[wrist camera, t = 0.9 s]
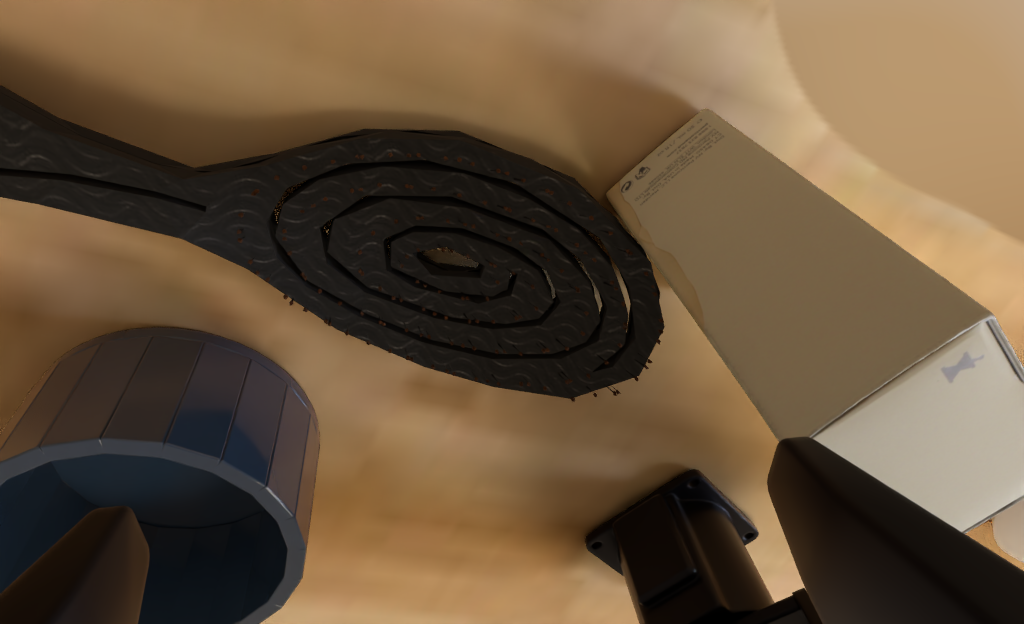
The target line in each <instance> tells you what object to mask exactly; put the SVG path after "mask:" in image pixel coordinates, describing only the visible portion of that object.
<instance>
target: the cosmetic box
mask: <svg viewBox="0 0 1024 624" xmlns="http://www.w3.org/2000/svg"><path fill="white" fill-rule="evenodd" d="M606 196H607V199H608V200H609V202H610V203H611V205H612V206H613V208H614V209H615V211H616V212H617V213H618V214H619V216H620V217H621V218H622V220H623V221H624V223H625V224H626V225H627V227H628V228H629V230H630V231H631V233H632V234H633V235H634V237H635V238H636V240H637V241H638V242H639V244H640V245H641V246H642V248H643V249H644V250H645V252H646V253H647V255H648V256H649V257H650V259H651V260H652V261H653V263H654V264H655V265H656V267H657V268H658V269H659V271H660V272H661V274H662V275H663V276H664V278H665V279H666V281H667V282H668V283H669V285H670V286H671V288H672V289H673V290H674V292H675V293H676V295H677V296H678V298H679V299H680V300H681V302H682V303H683V305H684V306H685V307H686V309H687V310H688V312H689V313H690V314H691V316H692V317H693V319H694V320H695V322H696V323H697V324H698V326H699V327H700V329H701V330H702V332H703V333H704V334H705V336H706V337H707V339H708V340H709V341H710V343H711V344H712V346H713V347H714V348H715V350H716V351H717V353H718V354H719V356H720V357H721V358H722V360H723V361H724V363H725V364H726V365H727V367H728V368H729V370H730V371H731V373H732V374H733V375H734V377H735V378H736V380H737V381H738V383H739V384H740V385H741V387H742V388H743V390H744V391H745V393H746V394H747V396H748V397H749V398H750V400H751V401H752V403H753V404H754V406H755V407H756V408H757V410H758V411H759V413H760V414H761V416H762V417H763V419H764V420H765V422H766V423H767V425H768V426H769V428H770V429H771V431H772V432H773V434H774V435H775V437H776V438H777V440H778V441H779V442H780V441H781V440H782V439H785V438H794V437H804V436H805V437H810V438H812V439H814V440H816V441H818V442H819V443H821V444H822V445H824V446H825V447H827V448H829V449H830V450H832V451H833V452H835V453H837V454H838V455H840V456H841V457H843V458H845V459H846V460H848V461H849V462H851V463H852V464H854V465H856V466H857V467H859V468H860V469H862V470H864V471H865V472H867V473H868V474H870V475H872V476H873V477H875V478H876V479H878V480H880V481H881V482H883V483H884V484H886V485H887V486H889V487H891V488H892V489H894V490H895V491H897V492H899V493H900V494H902V495H903V496H905V497H907V498H908V499H910V500H911V501H913V502H915V503H916V504H918V505H919V506H921V507H922V508H924V509H926V510H927V511H929V512H930V513H932V514H934V515H935V516H937V517H938V518H940V519H942V520H943V521H945V522H946V523H948V524H949V525H951V526H953V527H954V528H956V529H957V530H959V531H961V532H962V533H964V534H965V533H967V532H969V531H970V530H972V529H974V528H976V527H978V526H980V525H981V524H983V523H984V522H986V521H988V520H989V519H991V518H993V517H995V516H997V515H998V514H1000V513H1002V512H1004V511H1006V510H1007V509H1009V508H1011V507H1012V506H1014V505H1016V504H1017V503H1019V502H1021V501H1022V500H1024V367H1023V366H1022V364H1021V362H1020V360H1019V359H1018V357H1017V355H1016V353H1015V351H1014V349H1013V348H1012V346H1011V344H1010V343H1009V341H1008V339H1007V337H1006V335H1005V334H1004V332H1003V331H1002V329H1001V327H1000V325H999V323H998V321H997V319H996V317H995V316H994V315H993V314H992V313H991V312H990V311H989V310H988V309H986V308H985V307H983V306H982V305H981V304H979V303H978V302H976V301H975V300H974V299H972V298H971V297H969V296H968V295H967V294H965V293H964V292H963V291H961V290H960V289H958V288H957V287H956V286H954V285H953V284H952V283H950V282H949V281H948V280H946V279H945V278H944V277H942V276H941V275H939V274H938V273H936V272H935V271H934V270H932V269H931V268H929V267H928V266H927V265H925V264H924V263H922V262H921V261H919V260H918V259H917V258H915V257H914V256H912V255H911V254H909V253H908V252H907V251H905V250H904V249H903V248H901V247H900V246H899V245H897V244H896V243H895V242H893V241H892V240H891V239H889V238H888V237H886V236H885V235H884V234H882V233H881V232H879V231H878V230H876V229H875V228H874V227H872V226H871V225H870V224H868V223H867V222H866V221H864V220H863V219H861V218H860V217H859V216H857V215H856V214H854V213H853V212H851V211H850V210H849V209H847V208H846V207H845V206H843V205H842V204H840V203H839V202H838V201H836V200H835V199H834V198H832V197H831V196H829V195H828V194H827V193H825V192H824V191H822V190H821V189H819V188H818V187H817V186H815V185H814V184H813V183H811V182H810V181H808V180H807V179H806V178H804V177H803V176H801V175H800V174H799V173H797V172H796V171H795V170H793V169H792V168H791V167H789V166H788V165H786V164H785V163H784V162H782V161H781V160H779V159H778V158H777V157H775V156H774V155H773V154H771V153H770V152H768V151H767V150H765V149H764V148H763V147H761V146H760V145H759V144H757V143H756V142H754V141H753V140H751V139H750V138H749V137H747V136H746V135H745V134H743V133H742V132H740V131H739V130H738V129H736V128H735V127H733V126H732V125H731V124H729V123H728V122H727V121H725V120H724V119H722V118H721V117H720V116H718V115H717V114H716V113H714V112H713V111H711V110H710V109H706V108H705V109H703V110H701V111H700V112H699V113H698V114H697V115H696V116H694V117H693V118H692V119H691V120H690V121H688V122H687V123H686V124H685V125H684V126H682V127H681V128H680V129H679V130H677V131H676V132H675V133H674V134H673V135H671V136H670V137H669V138H668V139H667V140H666V141H664V142H663V143H662V144H661V145H660V146H659V147H657V148H656V149H655V150H654V151H653V152H652V153H650V154H649V155H648V156H647V157H646V158H645V159H643V160H642V161H641V162H640V163H639V164H638V165H637V166H635V167H634V168H633V169H632V170H631V171H630V172H629V173H627V174H626V175H625V176H624V177H623V178H622V179H621V180H620V181H619V182H618V183H616V184H615V185H614V186H613V187H612V188H611V189H610V190H609V191H608V192H607V195H606Z"/></svg>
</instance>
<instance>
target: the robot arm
mask: <svg viewBox="0 0 1024 624" xmlns="http://www.w3.org/2000/svg"><path fill="white" fill-rule="evenodd" d="M767 485H768V491H769V495H770V497H771V500H772V503H773V505H774V508H775V511H776V513H777V516H778V519H779V521H780V524H781V526H782V529H783V532H784V534H785V537H786V540H787V542H788V545H789V547H790V550H791V553H792V555H793V558H794V561H795V563H796V566H797V569H798V571H799V574H800V576H801V579H802V581H803V583H804V586H805V588H806V590H805V588H802V589H800V590H798V591H795V592H793V593H792V594H793V595H792V596H790V597H788V598H785V599H783V600H781V601H778V602H776V603H774V601H773V599H772V597H771V595H770V593H769V591H768V590H767V588H766V586H765V584H764V582H763V580H762V578H761V576H760V574H759V572H758V570H757V569H756V567H755V565H754V563H753V561H752V559H751V557H750V555H749V553H748V551H747V549H746V547H745V545H746V544H748V543H750V542H751V541H753V540H754V539H756V538H757V536H758V531H757V529H756V527H755V525H754V524H753V523H752V522H751V521H750V520H749V519H748V518H747V517H746V516H745V515H744V514H743V513H742V512H741V511H740V510H739V509H738V508H737V507H736V506H735V505H734V504H733V503H732V502H731V501H730V500H729V499H728V498H727V497H726V496H725V495H724V494H723V493H722V492H721V491H719V490H718V489H717V488H716V487H715V486H714V485H713V484H712V483H711V482H710V481H709V480H708V479H707V478H706V477H705V476H704V475H703V474H702V473H701V472H700V471H699V470H695V469H693V470H689V471H686V472H685V473H683V474H682V475H680V476H678V477H677V478H675V479H674V480H672V481H671V482H669V483H667V484H666V485H664V486H663V487H661V488H660V489H658V490H657V491H655V492H653V493H652V494H650V495H649V496H647V497H646V498H644V499H642V500H641V501H639V502H638V503H636V504H635V505H633V506H632V507H630V508H628V509H627V510H625V511H624V512H622V513H621V514H619V515H618V516H616V517H614V518H613V519H611V520H610V521H608V522H607V523H605V524H603V525H602V526H600V527H599V528H597V529H596V530H594V531H593V532H591V533H589V534H588V535H587V536H586V538H585V544H586V547H587V549H588V551H590V552H591V553H592V554H594V555H595V556H597V557H598V558H599V559H601V560H602V561H603V562H605V563H606V564H607V565H609V566H610V567H612V568H613V569H614V570H616V571H617V572H618V573H620V574H621V575H622V576H624V578H625V581H626V584H627V587H628V590H629V593H630V596H631V599H632V602H633V605H634V608H635V611H636V614H637V617H638V620H639V623H640V624H1024V571H1023V570H1021V569H1019V568H1018V567H1016V566H1015V565H1013V564H1012V563H1010V562H1008V561H1007V560H1005V559H1004V558H1002V557H1000V556H999V555H997V554H996V553H994V552H992V551H991V550H989V549H988V548H986V547H984V546H983V545H981V544H980V543H978V542H977V541H975V540H973V539H972V538H970V537H969V536H967V535H965V534H964V533H962V532H961V531H959V530H957V529H956V528H954V527H953V526H951V525H949V524H948V523H946V522H945V521H943V520H942V519H940V518H938V517H937V516H935V515H934V514H932V513H930V512H929V511H927V510H926V509H924V508H922V507H921V506H919V505H918V504H916V503H915V502H913V501H911V500H910V499H908V498H907V497H905V496H903V495H902V494H900V493H899V492H897V491H895V490H894V489H892V488H891V487H889V486H887V485H886V484H884V483H883V482H881V481H880V480H878V479H876V478H875V477H873V476H872V475H870V474H868V473H867V472H865V471H864V470H862V469H860V468H859V467H857V466H856V465H854V464H852V463H851V462H849V461H848V460H846V459H845V458H843V457H841V456H840V455H838V454H837V453H835V452H833V451H832V450H830V449H829V448H827V447H825V446H824V445H822V444H821V443H819V442H818V441H816V440H814V439H812V438H810V437H805V436H804V437H794V438H785V439H782V440H781V441H780V442H779V443H778V445H777V448H776V451H775V455H774V458H773V461H772V465H771V468H770V471H769V474H768V480H767ZM149 557H150V556H149V547H148V544H147V541H146V539H145V537H144V535H143V532H142V530H141V528H140V525H139V523H138V521H137V519H136V516H135V514H134V512H133V511H132V509H131V508H129V507H128V506H114V507H105V508H98V509H95V510H93V511H91V512H90V513H88V514H87V515H86V516H85V517H84V518H83V519H82V520H81V521H79V522H78V523H77V524H76V525H75V526H74V527H73V528H72V529H71V530H70V531H69V532H67V533H66V534H65V535H64V536H63V537H62V538H61V539H60V540H59V541H58V542H56V543H55V544H54V545H53V546H52V547H51V548H50V549H49V550H48V551H47V552H46V553H44V554H43V555H42V556H41V557H40V558H39V559H38V560H37V561H36V562H35V563H33V564H32V565H31V566H30V567H29V568H28V569H27V570H26V571H25V572H24V573H23V574H21V575H20V576H19V577H18V578H17V579H16V580H15V581H14V582H13V583H12V584H10V585H9V586H8V587H7V588H6V589H5V590H4V591H3V592H2V593H1V594H0V624H138V620H139V615H140V609H141V604H142V599H143V593H144V588H145V583H146V577H147V572H148V567H149Z"/></svg>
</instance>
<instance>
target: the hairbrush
mask: <svg viewBox="0 0 1024 624" xmlns="http://www.w3.org/2000/svg"><path fill="white" fill-rule="evenodd" d="M345 164H348V165H345ZM342 165H343V166H342ZM306 180H307V181H306ZM304 181H306V182H304ZM509 181H510V182H509ZM301 182H304V183H303V184H302V185H300V186H299V187H298V188H297V189H296V190H294V191H293V192H292V193H291V194H289V195H288V196H287V197H286V198H285V199H284V202H283V205H282V208H281V211H280V214H279V217H278V224H277V223H276V219H275V215H274V211H273V210H274V209H275V207H276V205H277V204H278V202H279V200H280V199H281V197H282V195H283V194H284V192H285V191H286V190H287V188H289V187H291V186H294V185H296V184H299V183H301ZM512 182H514V183H516V184H514V183H512ZM365 195H370V196H369V197H367V198H364V199H362V200H360V199H361V198H362V197H364V196H365ZM0 197H3V198H8V199H13V200H19V201H24V202H30V203H35V204H40V205H44V206H48V207H52V208H56V209H60V210H65V211H69V212H73V213H77V214H81V215H85V216H90V217H94V218H98V219H102V220H106V221H110V222H115V223H119V224H123V225H127V226H131V227H135V228H140V229H144V230H148V231H152V232H156V233H160V234H164V235H169V236H173V237H177V238H181V239H184V240H186V241H188V242H190V243H192V244H194V245H197V246H199V247H201V248H203V249H205V250H207V251H210V252H212V253H214V254H216V255H218V256H220V257H223V258H225V259H227V260H229V261H231V262H233V263H236V264H238V265H240V266H242V267H244V268H246V269H248V270H250V271H251V272H253V273H254V274H256V275H257V276H259V277H260V278H262V279H263V280H265V281H266V282H268V283H269V284H270V285H272V286H273V287H275V288H276V289H278V290H279V291H281V292H282V293H284V294H285V295H284V299H287V298H288V297H290V298H291V299H292V301H290V302H289V303H290V305H292V304H294V303H293V300H294V301H296V302H297V303H299V304H300V305H302V306H303V307H305V308H304V309H303V311H305V312H307V311H308V310H309V311H311V312H312V313H314V314H315V315H316V316H318V317H319V318H321V319H322V320H324V323H326V324H328V325H329V326H333V327H334V328H336V329H337V330H340V331H342V332H344V333H345V334H346V335H351V336H354V337H356V338H358V339H361V340H363V341H365V342H366V343H367V344H368V345H369V344H372V345H375V346H377V347H379V348H382V349H384V350H386V351H389V353H393V354H396V355H398V356H400V357H403V358H405V359H406V360H410V361H412V362H414V363H417V364H419V365H421V366H424V367H427V368H430V369H434V370H437V371H441V372H444V373H447V374H451V375H453V376H458V377H461V378H465V379H468V380H472V381H475V382H478V383H482V384H485V385H489V386H492V387H498V388H505V389H511V390H518V391H524V392H530V393H537V394H543V395H550V396H556V397H563V398H569V399H571V400H572V402H573V401H575V398H574V397H577V396H580V395H583V394H586V393H589V392H592V391H595V390H598V389H601V388H604V387H607V386H610V385H613V384H616V383H619V382H622V381H625V380H628V379H631V378H635V380H636V381H638V377H637V376H639V375H640V373H641V371H642V369H643V368H644V367H645V368H646V369H649V368H648V367H647V366H646V365H645V364H646V362H647V360H648V363H652V361H651V360H649V359H648V358H649V356H650V354H651V352H652V350H653V348H654V346H655V344H656V342H657V343H658V344H659V345H660V342H661V341H660V340H658V339H659V337H660V335H661V334H662V333H663V329H664V321H663V317H662V313H661V308H660V303H659V299H660V291H659V288H658V286H657V283H656V280H655V278H654V275H653V270H652V265H651V262H650V261H649V260H648V258H647V256H646V253H645V251H644V249H643V248H642V246H641V245H640V244H639V243H638V242H637V241H636V240H635V239H634V238H633V237H632V236H631V235H630V234H629V233H628V232H627V231H626V230H625V229H624V228H623V226H622V225H621V224H620V223H619V221H618V220H617V219H616V218H615V217H614V216H613V215H612V214H611V213H609V212H608V211H607V210H606V209H605V208H604V207H602V206H601V205H600V204H599V203H598V202H597V201H596V200H595V199H594V198H593V197H592V196H591V195H590V194H589V193H588V192H587V191H586V190H585V189H584V188H583V187H582V186H581V185H580V184H579V183H578V182H577V181H576V179H575V178H573V177H570V176H568V175H565V174H563V173H561V172H558V171H556V170H553V169H551V168H549V167H546V166H544V165H541V164H539V163H538V162H536V161H534V160H532V159H530V158H527V157H524V156H521V155H518V154H515V153H512V152H509V151H506V150H504V149H501V148H499V147H497V146H494V145H492V144H489V143H487V142H484V141H482V140H479V139H477V138H474V137H472V136H470V135H467V134H465V133H462V132H460V131H435V130H392V129H363V130H359V131H355V132H352V133H348V134H344V135H341V136H337V137H333V138H330V139H326V140H322V141H318V142H315V143H311V144H307V145H304V146H300V147H296V148H293V149H289V150H285V151H282V152H278V153H274V154H269V155H263V156H258V157H252V158H247V159H241V160H236V161H230V162H225V163H219V164H214V165H208V166H203V167H197V168H193V167H190V166H188V165H185V164H182V163H179V162H177V161H174V160H171V159H169V158H166V157H163V156H160V155H158V154H155V153H152V152H150V151H147V150H144V149H141V148H139V147H136V146H133V145H131V144H128V143H125V142H122V141H120V140H117V139H114V138H111V137H109V136H106V135H103V134H101V133H98V132H95V131H92V130H90V129H87V128H84V127H82V126H79V125H76V124H73V123H71V122H68V121H65V120H63V119H60V118H58V117H56V116H54V115H53V114H51V113H49V112H47V111H45V110H44V109H42V108H40V107H38V106H37V105H35V104H33V103H31V102H29V101H28V100H26V99H24V98H22V97H20V96H19V95H17V94H15V93H13V92H11V91H10V90H8V89H6V88H4V87H3V86H1V85H0ZM358 200H359V201H358ZM332 218H333V219H332ZM331 219H332V223H331V226H330V230H329V233H328V239H327V237H326V235H325V234H324V232H323V230H322V228H323V226H324V225H325V223H326V222H328V221H329V220H331ZM583 227H584V228H585V229H587V230H588V231H590V232H591V233H593V234H594V235H596V236H597V237H598V238H599V239H600V240H601V241H602V243H603V244H604V246H605V248H606V249H607V251H608V253H609V254H610V256H611V258H612V259H613V261H614V263H615V264H616V266H617V268H618V269H619V271H620V274H621V276H622V278H623V281H624V283H625V286H626V288H627V292H628V295H629V299H630V303H631V305H630V312H629V320H628V312H627V308H626V304H625V300H624V297H623V294H622V291H621V288H620V285H619V282H618V280H617V277H616V274H615V271H614V269H613V267H612V264H611V261H610V258H609V256H608V255H607V254H606V253H605V252H604V251H603V250H602V248H601V247H600V246H599V245H598V244H597V243H596V242H595V241H594V239H593V238H592V237H591V236H590V235H589V234H588V233H587V232H586V230H585V229H584V228H583ZM390 236H391V239H390V242H389V247H390V259H389V257H388V249H387V238H388V237H390ZM443 247H447V248H448V249H449V250H450V251H451V252H452V253H453V250H454V251H456V252H458V253H460V254H462V255H464V256H466V257H468V258H470V259H472V260H474V261H476V262H478V263H479V265H478V267H477V268H473V267H465V266H458V265H451V264H443V263H436V262H434V261H433V260H431V259H430V258H428V257H427V256H425V255H424V254H422V253H421V252H420V251H425V250H431V249H436V248H442V249H441V250H442V251H443V252H444V251H445V248H443ZM571 252H572V253H573V254H574V255H575V256H577V257H578V258H579V259H580V260H581V261H582V263H583V264H584V266H585V268H586V270H587V272H588V273H589V275H590V277H591V279H592V280H593V282H594V284H595V286H596V287H597V289H598V291H599V294H600V298H601V302H602V308H601V311H600V314H599V309H598V305H597V302H596V299H595V296H594V288H593V285H592V282H591V280H590V279H589V277H588V276H587V274H586V273H585V272H584V270H583V269H582V267H581V266H580V265H579V263H578V262H577V260H576V259H575V258H574V256H573V255H572V253H571ZM541 267H542V268H543V269H544V270H546V271H547V273H548V275H549V277H550V279H551V282H552V284H553V286H554V288H555V295H556V297H555V298H554V299H553V298H552V292H551V287H550V285H549V283H548V281H547V278H546V276H545V274H544V272H543V270H542V268H541ZM510 273H512V276H511V278H510ZM509 278H510V279H509ZM627 321H628V324H627ZM627 325H628V327H627ZM626 329H627V333H626ZM607 388H608V387H607ZM613 388H614V387H613ZM608 389H610V388H608ZM614 389H615V388H614ZM610 390H611V389H610ZM615 390H616V389H615ZM611 391H612V390H611ZM612 392H613V391H612ZM616 393H617V395H618V394H619V393H620V392H619V391H618V390H616V392H615V391H614V392H613V395H615V396H617V395H616ZM620 394H621V393H620ZM593 395H594V397H597V394H596V393H595V392H594V394H593Z"/></svg>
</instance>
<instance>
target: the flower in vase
mask: <svg viewBox="0 0 1024 624" xmlns="http://www.w3.org/2000/svg"><path fill="white" fill-rule="evenodd" d="M992 527H993V534H994V539H995V541H996V543H997V545H998V546H999V547H1000V548H1001V549H1002V550H1003V551H1004V552H1006V553H1007V554H1009V555H1010V556H1012V557H1014V558H1016V559H1017V560H1019V561H1021V562H1023V563H1024V500H1022V501H1021V502H1019V503H1017V504H1016V505H1014V506H1012V507H1011V508H1009V509H1007V510H1006V511H1004V512H1002V513H1000V514H998V515H997V516H995V517H993V518H992Z"/></svg>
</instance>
